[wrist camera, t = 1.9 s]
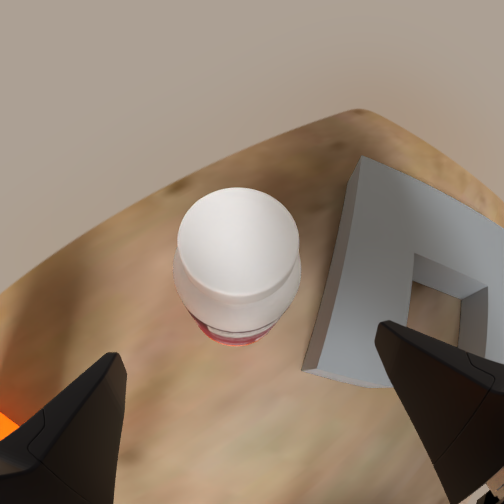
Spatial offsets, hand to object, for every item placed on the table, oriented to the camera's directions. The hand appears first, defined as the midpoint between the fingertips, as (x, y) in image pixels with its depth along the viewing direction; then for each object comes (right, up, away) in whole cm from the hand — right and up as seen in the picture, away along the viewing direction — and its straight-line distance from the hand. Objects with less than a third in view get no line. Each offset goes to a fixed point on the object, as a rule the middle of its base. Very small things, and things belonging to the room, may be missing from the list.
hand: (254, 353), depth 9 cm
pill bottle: (-1, -1, +12) cm, 12 cm away
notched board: (+16, -1, +13) cm, 20 cm away
